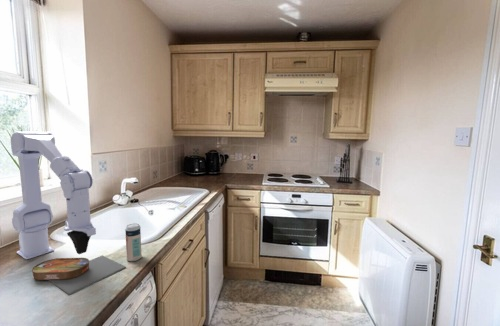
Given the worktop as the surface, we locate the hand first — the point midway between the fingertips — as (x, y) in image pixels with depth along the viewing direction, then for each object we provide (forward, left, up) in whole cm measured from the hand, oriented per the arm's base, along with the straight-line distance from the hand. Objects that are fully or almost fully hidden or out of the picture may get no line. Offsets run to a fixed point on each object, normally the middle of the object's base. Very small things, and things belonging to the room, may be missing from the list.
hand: (81, 252), depth 76 cm
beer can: (+7, +13, -6) cm, 16 cm away
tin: (-6, -1, -4) cm, 7 cm away
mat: (+3, 0, -6) cm, 7 cm away
